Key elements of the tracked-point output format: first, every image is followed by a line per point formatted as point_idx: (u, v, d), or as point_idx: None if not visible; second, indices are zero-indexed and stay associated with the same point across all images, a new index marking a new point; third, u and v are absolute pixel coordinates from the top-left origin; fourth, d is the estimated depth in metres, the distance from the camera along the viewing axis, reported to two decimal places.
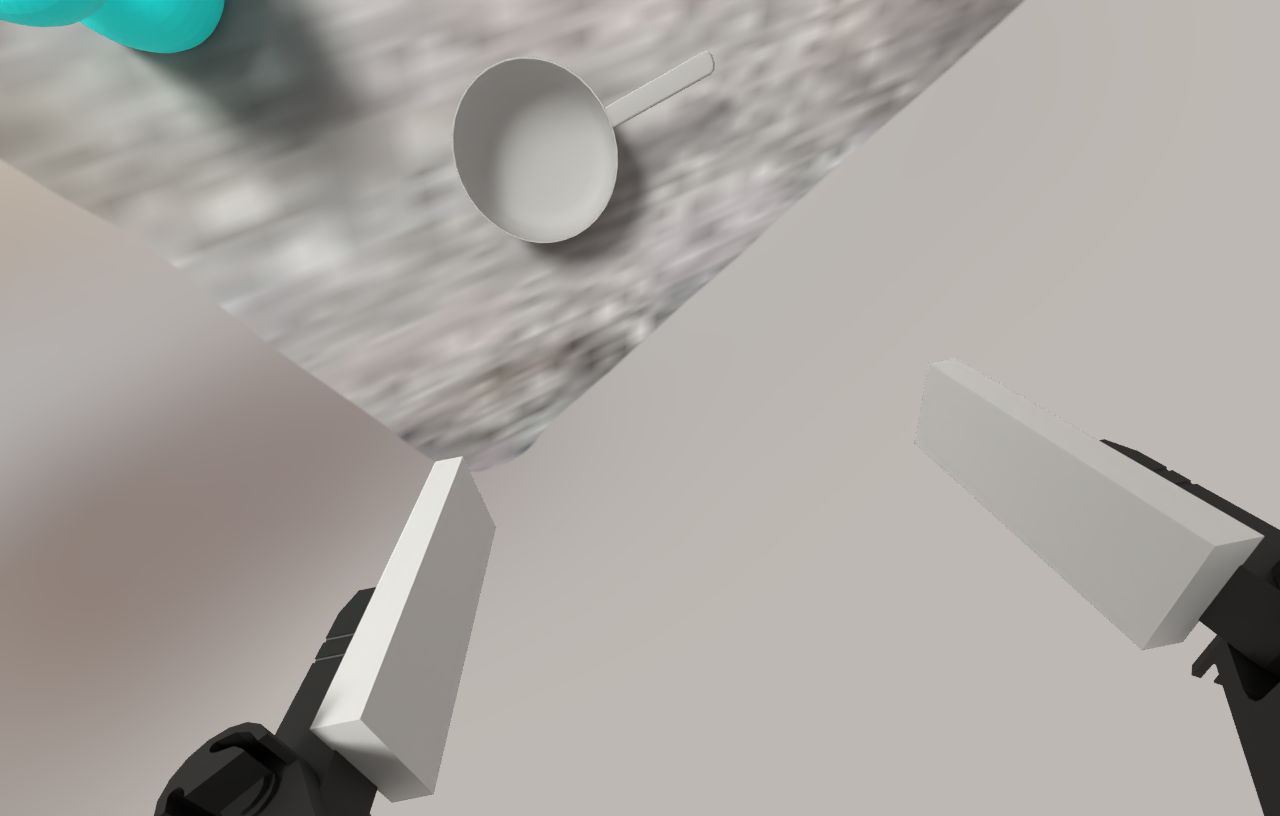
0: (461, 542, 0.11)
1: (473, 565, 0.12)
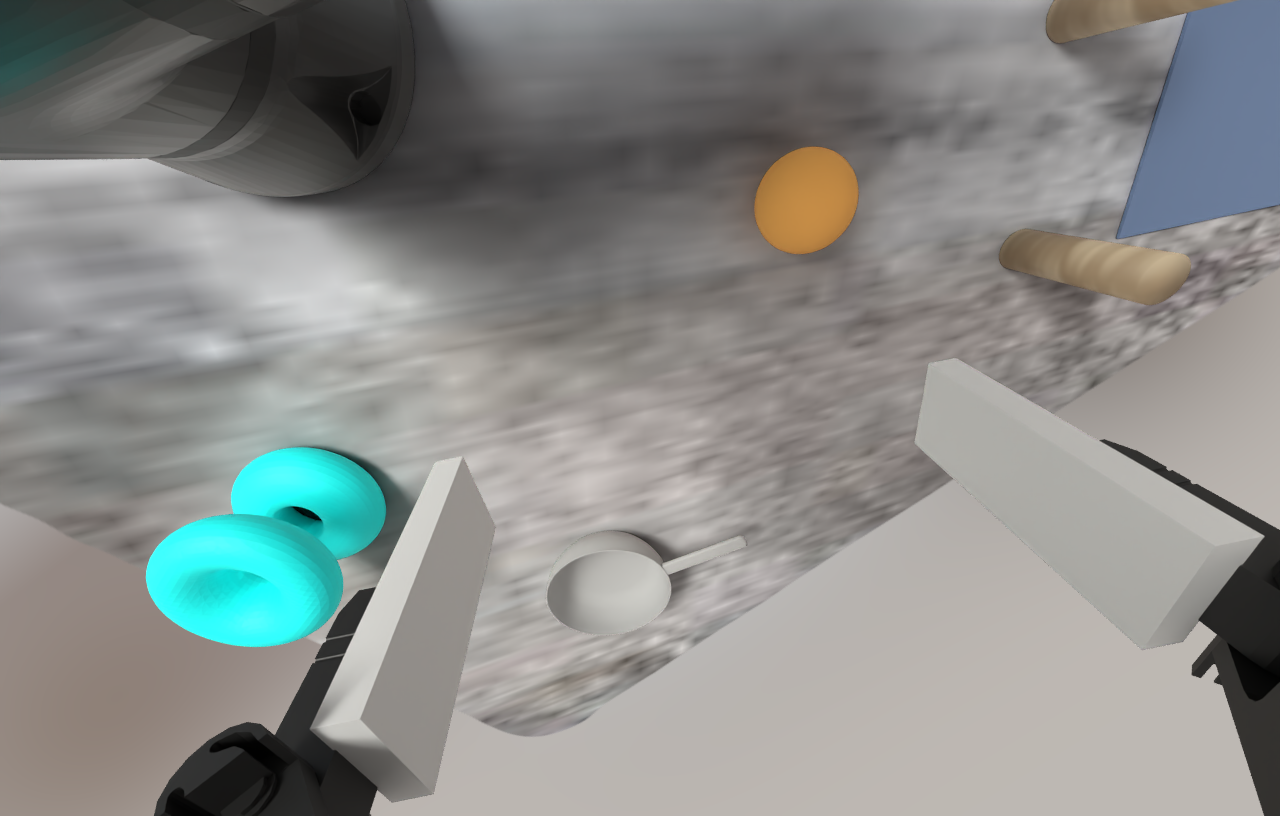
0: (461, 542, 0.11)
1: (473, 565, 0.12)
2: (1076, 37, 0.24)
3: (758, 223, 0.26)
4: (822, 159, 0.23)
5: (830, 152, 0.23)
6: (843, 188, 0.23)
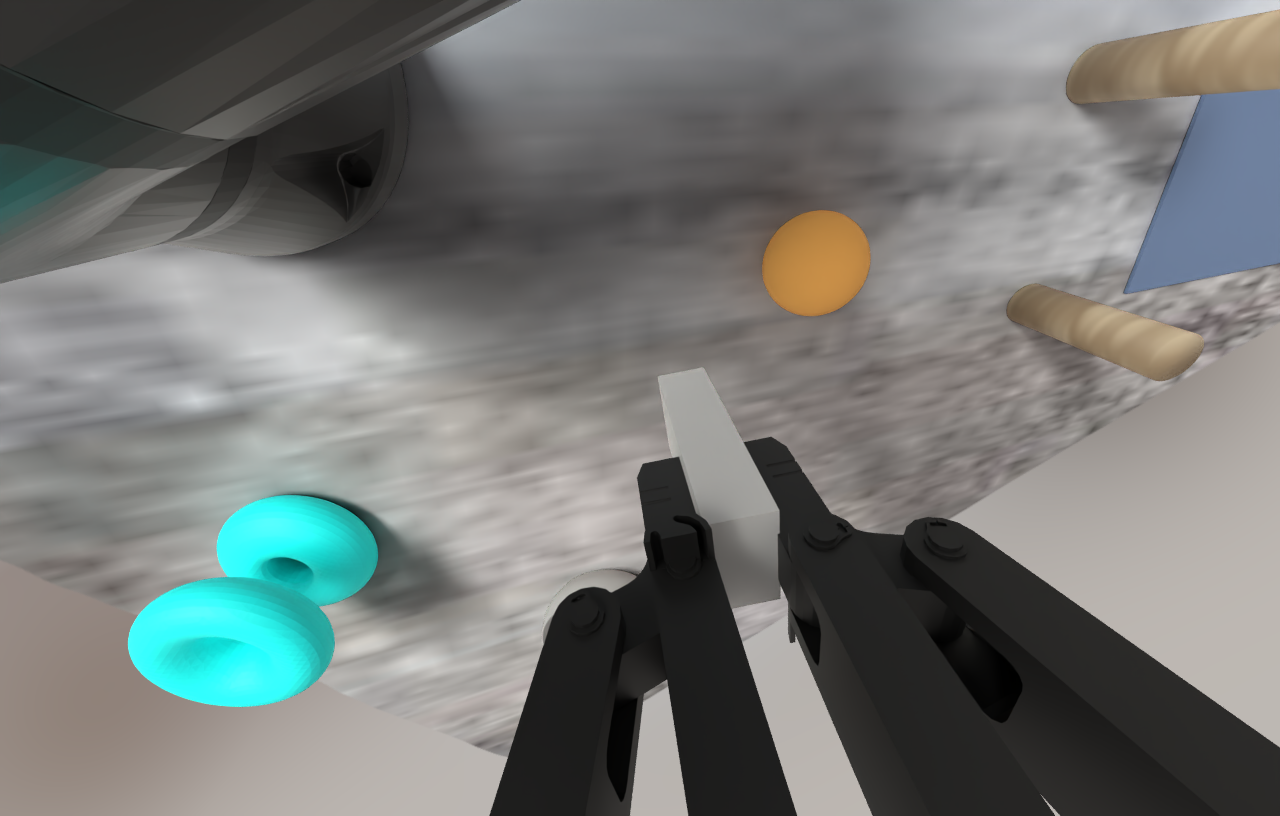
0: None
1: None
2: (1097, 101, 0.24)
3: (766, 284, 0.25)
4: (835, 229, 0.22)
5: (843, 219, 0.23)
6: (856, 258, 0.22)
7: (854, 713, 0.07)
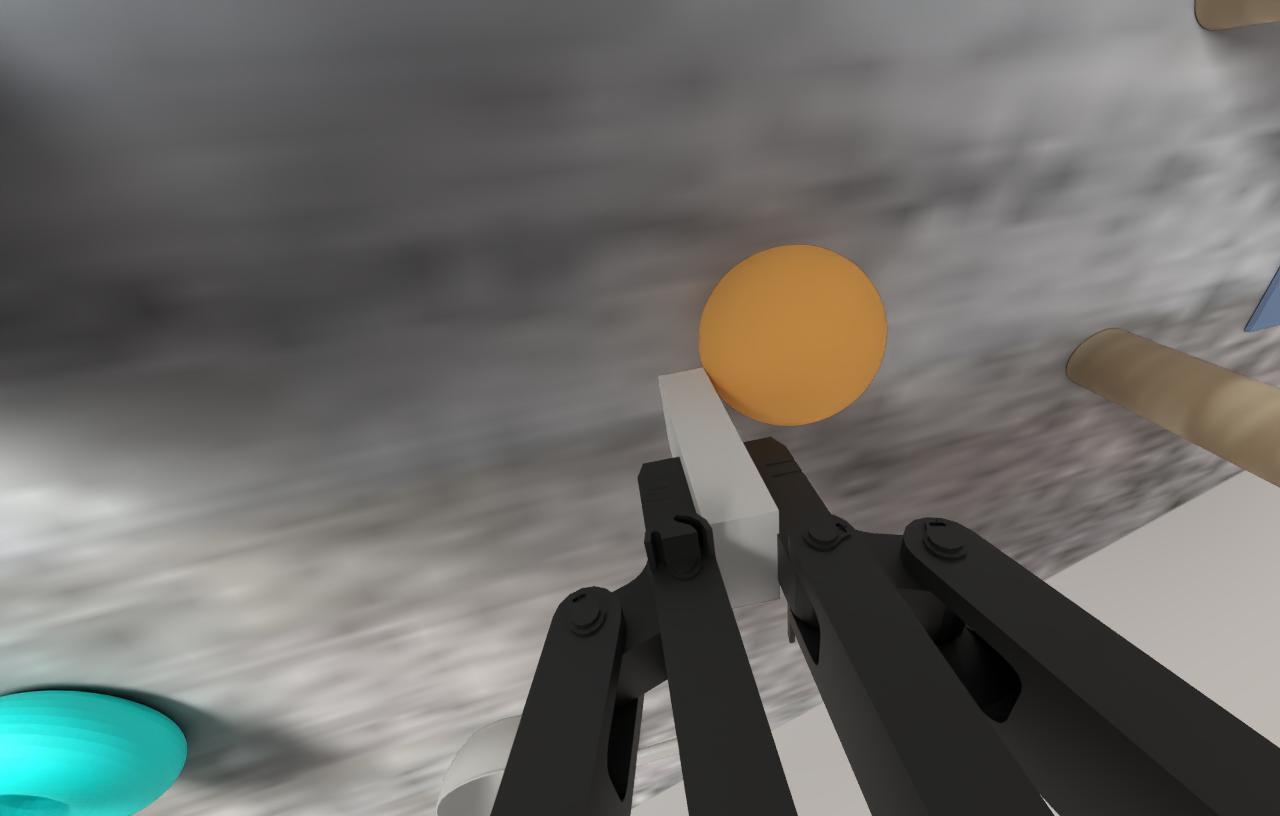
0: None
1: None
2: (1261, 21, 0.13)
3: (714, 384, 0.14)
4: (833, 283, 0.12)
5: (837, 261, 0.12)
6: (875, 332, 0.12)
7: (853, 713, 0.07)
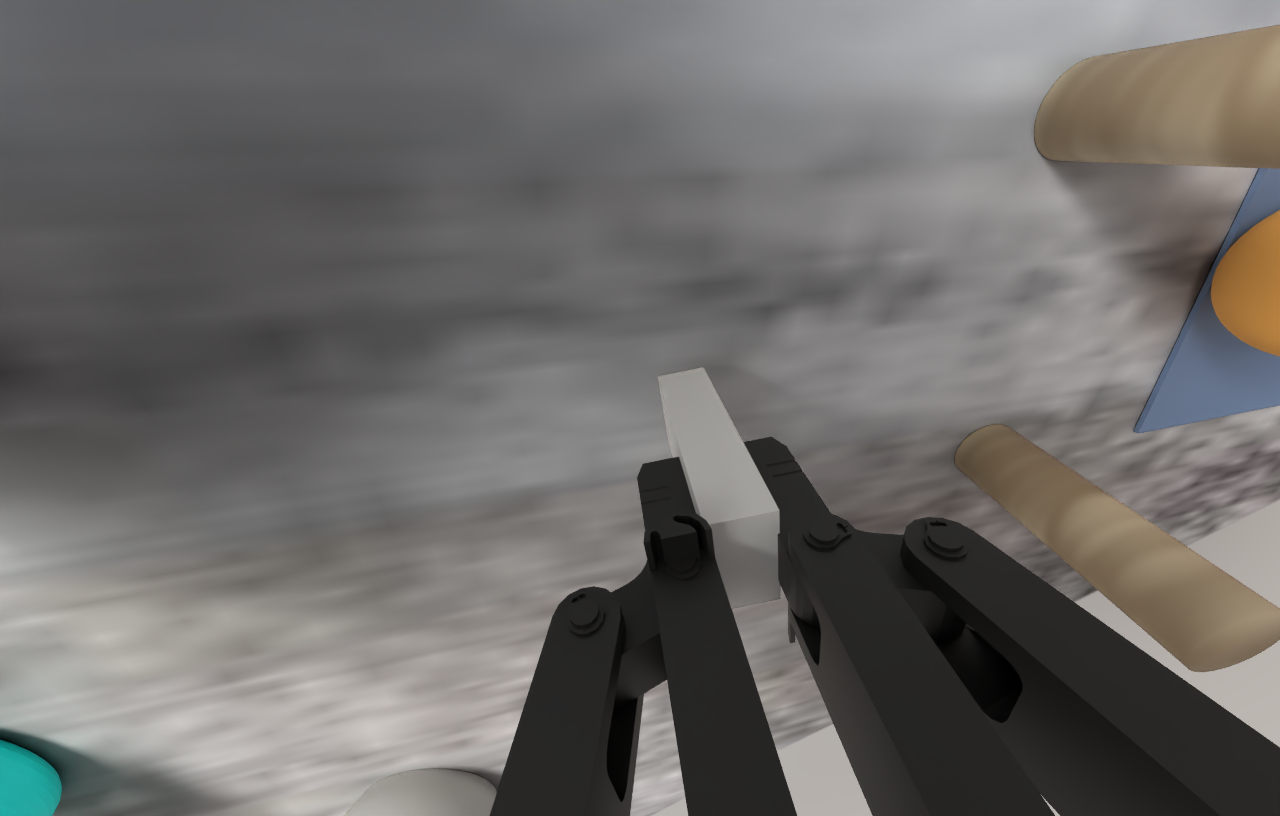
0: None
1: None
2: (1089, 161, 0.13)
3: None
4: None
5: None
6: None
7: (854, 713, 0.07)
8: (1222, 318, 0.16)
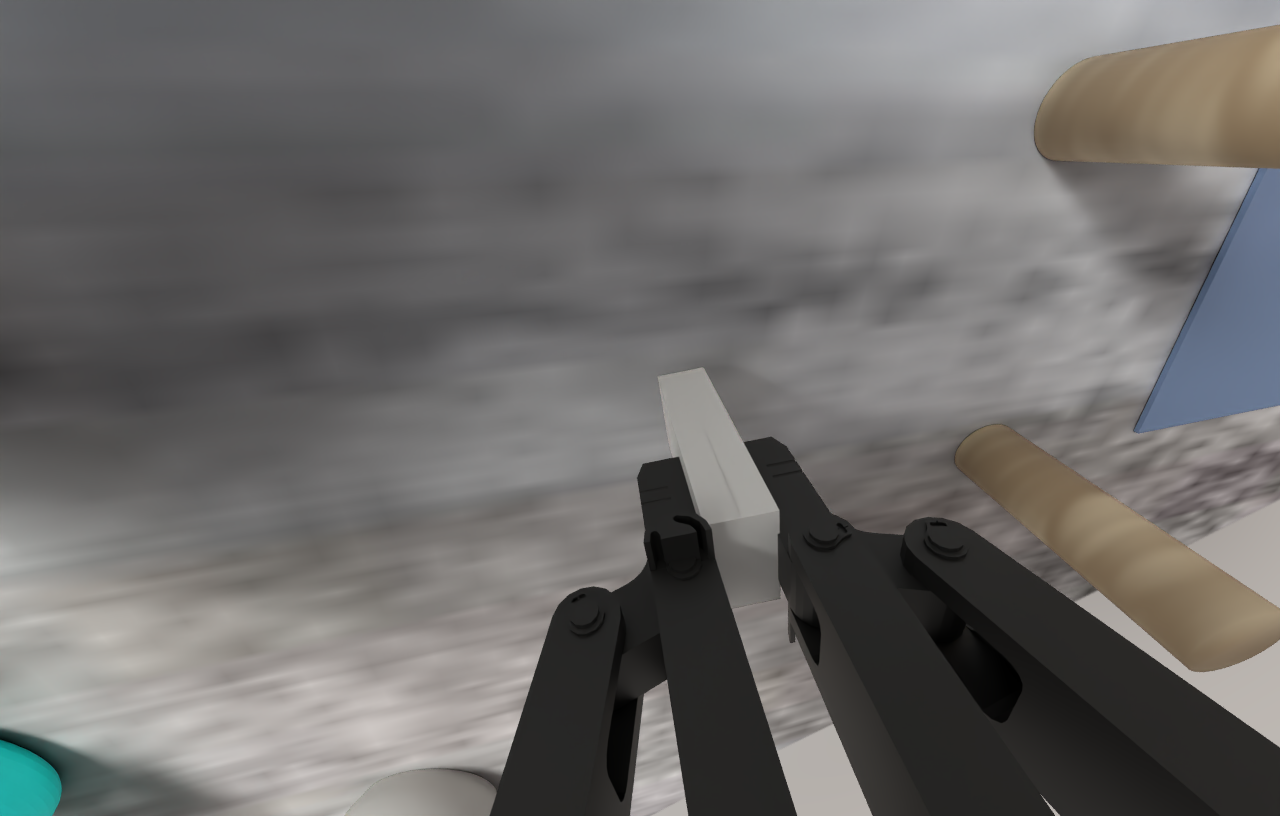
0: None
1: None
2: (1089, 161, 0.13)
3: None
4: None
5: None
6: None
7: (854, 713, 0.07)
8: None
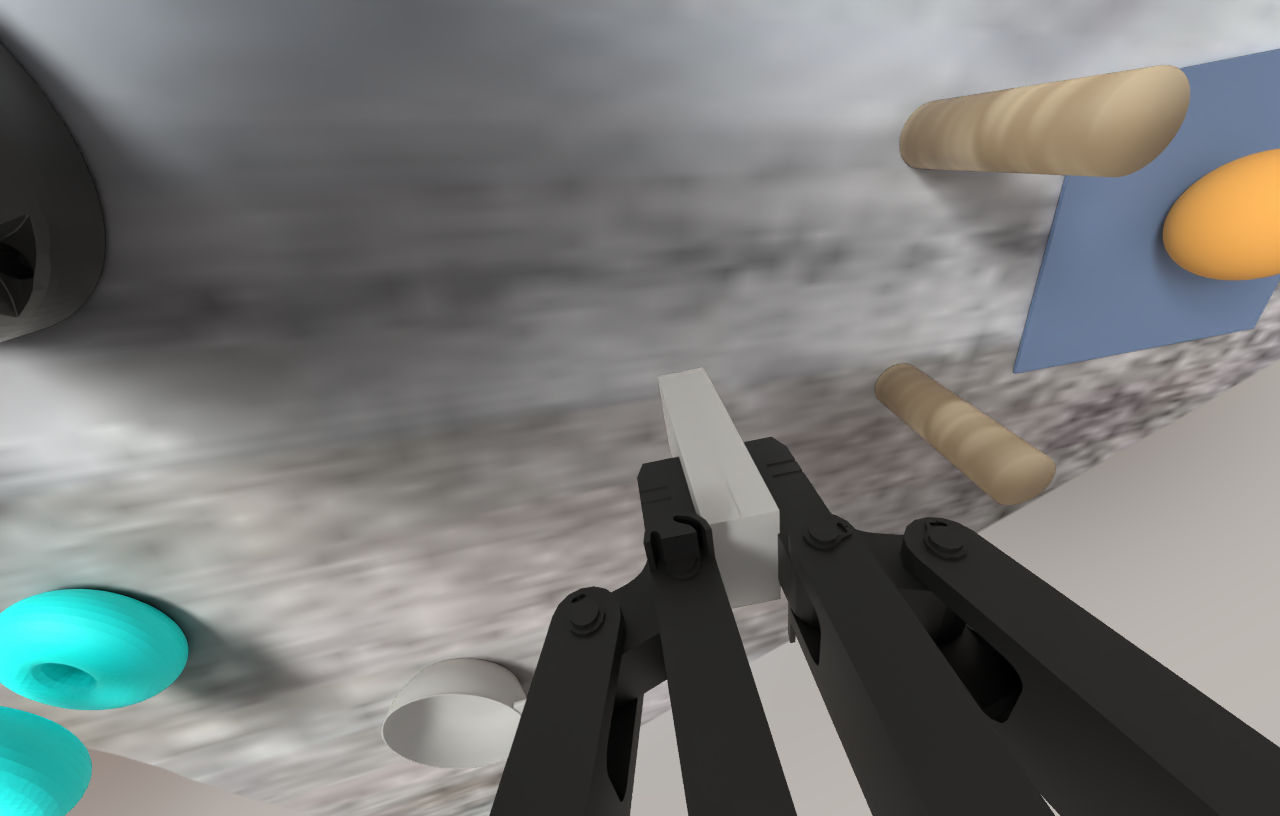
0: None
1: None
2: (932, 168, 0.20)
3: None
4: (1232, 174, 0.20)
5: (1269, 167, 0.19)
6: (1211, 215, 0.20)
7: (854, 713, 0.07)
8: None
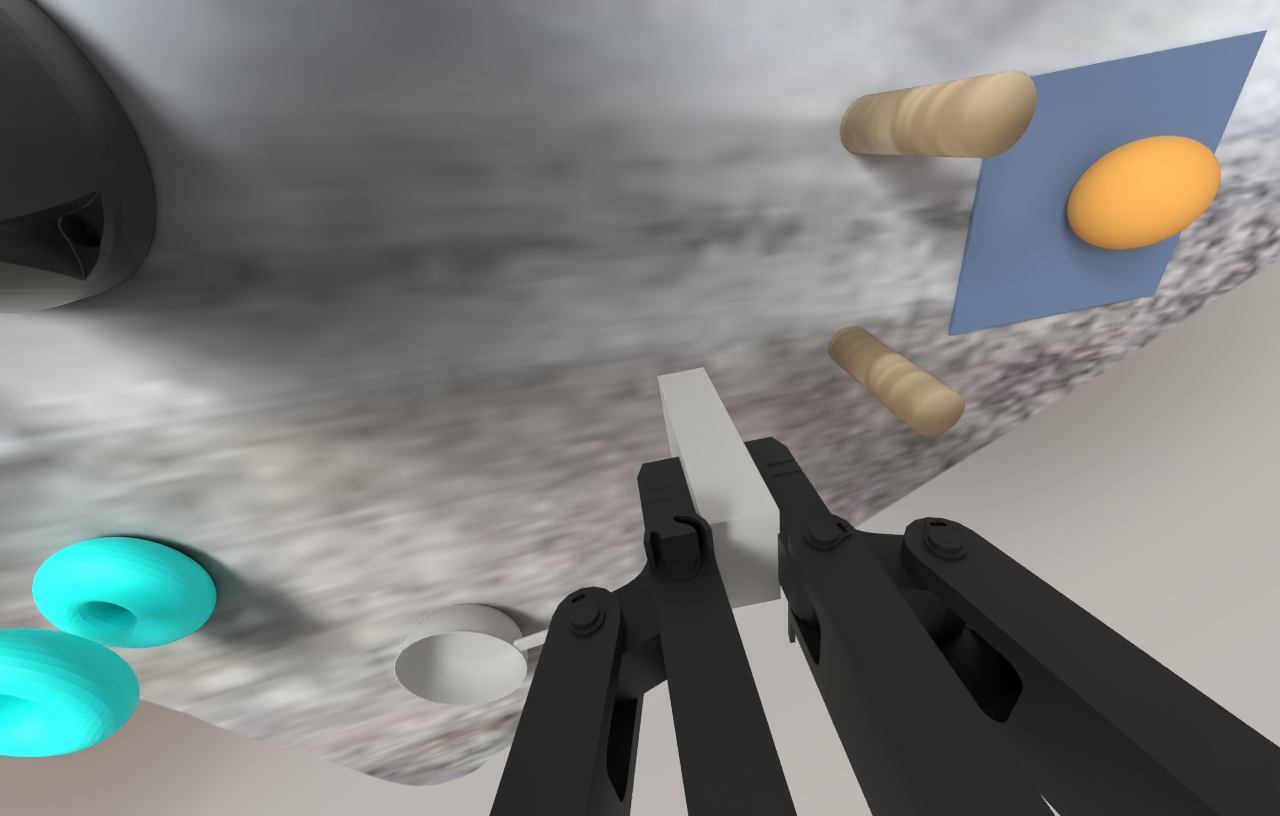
0: None
1: None
2: (866, 153, 0.23)
3: None
4: (1115, 158, 0.23)
5: (1141, 152, 0.23)
6: (1099, 193, 0.24)
7: (854, 713, 0.07)
8: (1181, 227, 0.23)
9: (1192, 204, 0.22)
